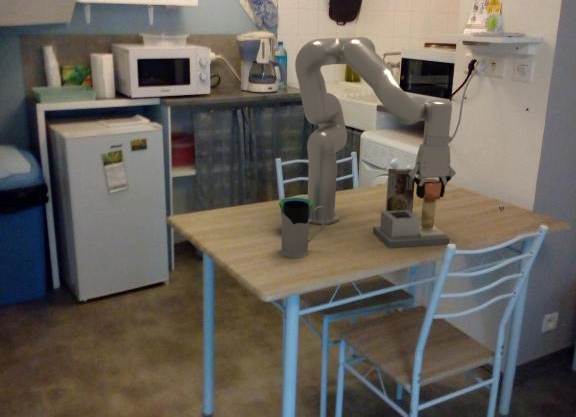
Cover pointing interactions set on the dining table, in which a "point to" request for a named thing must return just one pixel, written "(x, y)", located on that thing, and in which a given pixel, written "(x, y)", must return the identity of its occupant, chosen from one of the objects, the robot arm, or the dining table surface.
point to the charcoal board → (410, 240)
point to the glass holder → (296, 229)
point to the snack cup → (295, 200)
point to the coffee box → (399, 190)
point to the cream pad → (430, 232)
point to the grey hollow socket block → (400, 224)
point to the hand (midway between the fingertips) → (429, 196)
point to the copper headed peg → (430, 202)
